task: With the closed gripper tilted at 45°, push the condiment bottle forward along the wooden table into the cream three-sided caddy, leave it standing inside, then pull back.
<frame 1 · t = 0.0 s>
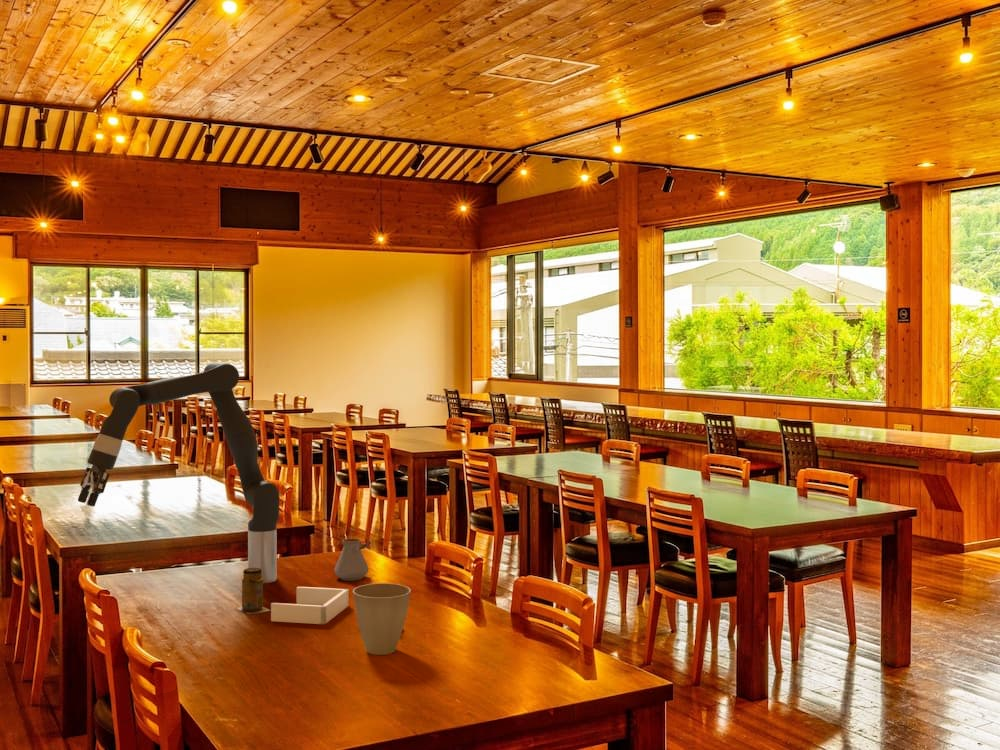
hand: (85, 504, 296), 31 cm above the table, tool tilted 20°, fingers open, 8 cm apart
plant pot: (381, 651, 260), on the table
coffee pot: (357, 581, 334), on the table
cup and saucer: (380, 631, 279), on the table
caddy: (310, 613, 295), on the table
condiment: (253, 610, 298), on the table
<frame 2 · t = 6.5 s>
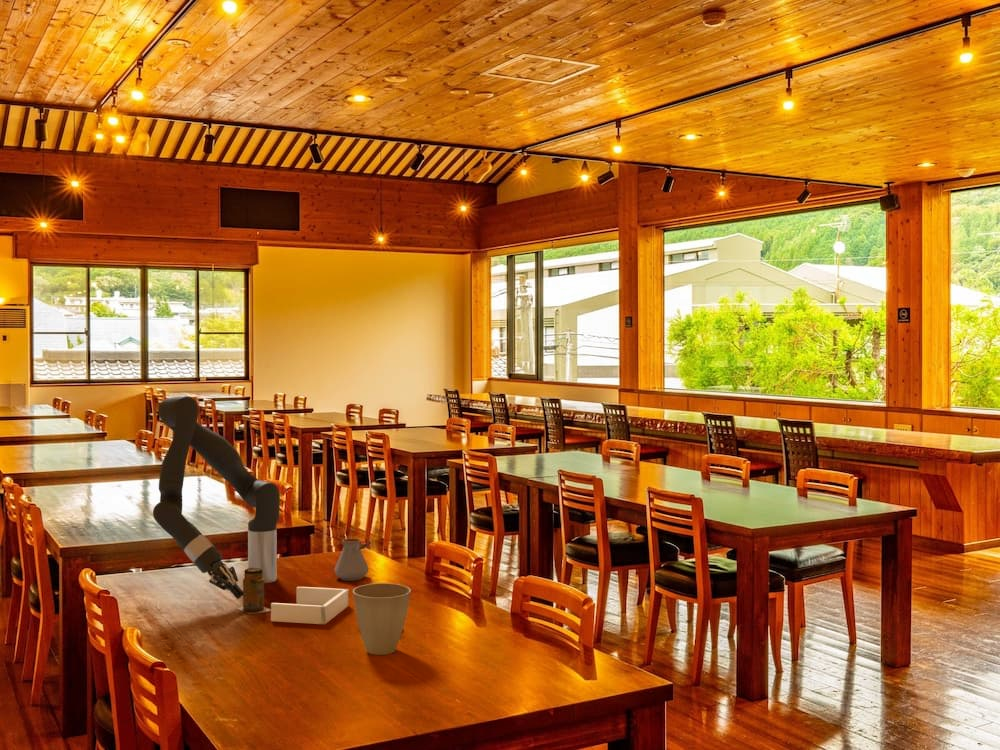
hand: (241, 596, 299), 4 cm above the table, tool tilted 45°, fingers closed
condiment: (254, 610, 298), on the table, touching gripper
everything else where it was.
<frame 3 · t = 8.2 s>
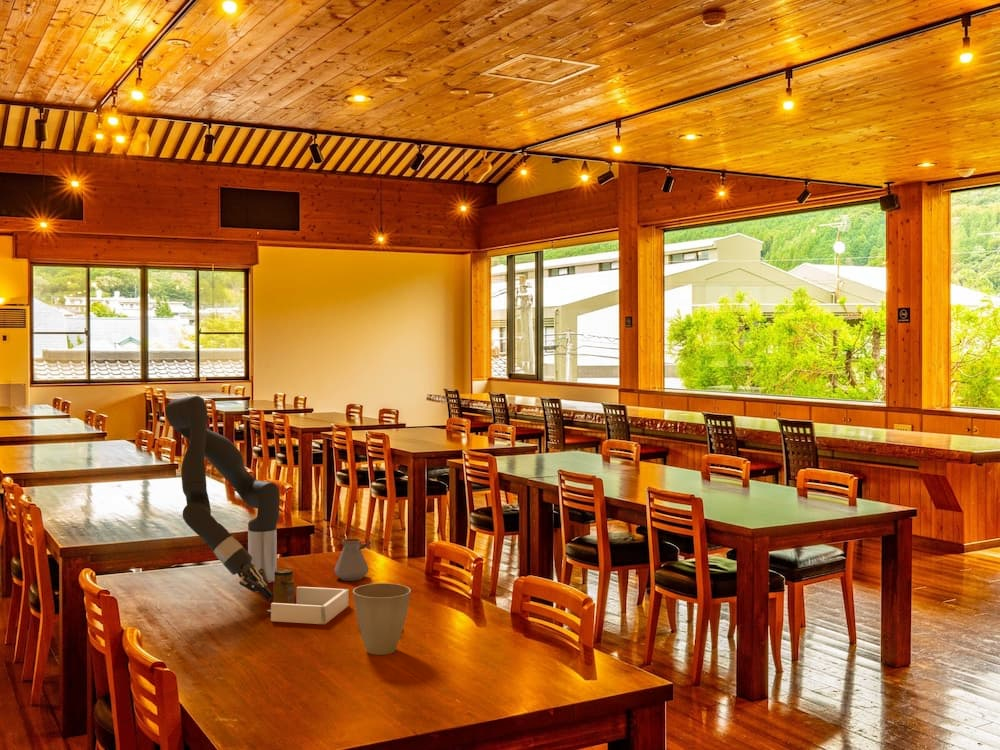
hand: (271, 598, 297), 4 cm above the table, tool tilted 45°, fingers closed
condiment: (284, 612, 296), on the table, touching gripper
everything else where it was.
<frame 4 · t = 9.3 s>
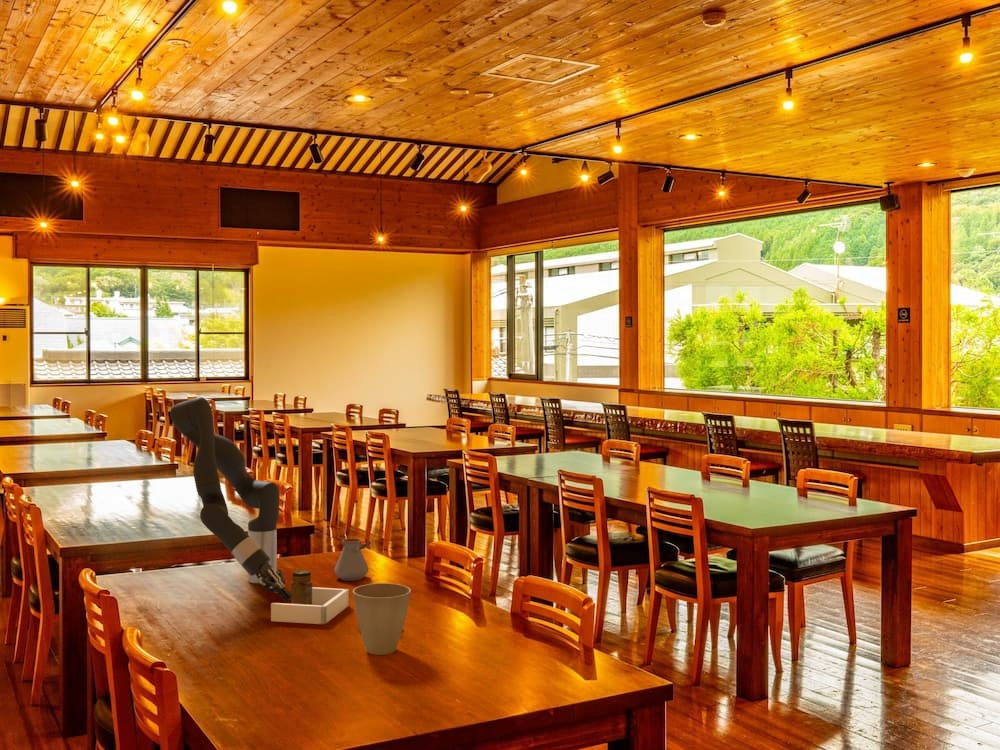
hand: (289, 599, 296), 4 cm above the table, tool tilted 45°, fingers closed
condiment: (302, 613, 295), on the table, touching gripper
everything else where it was.
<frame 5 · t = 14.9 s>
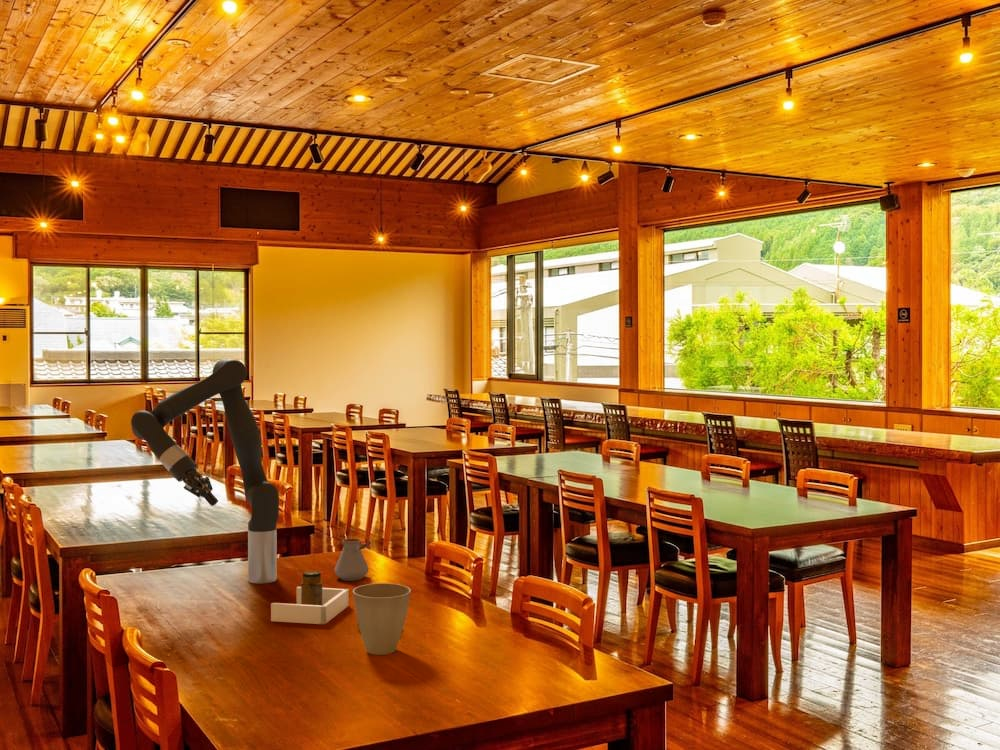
hand: (215, 503, 308), 30 cm above the table, tool tilted 45°, fingers closed
condiment: (312, 614, 295), on the table
everything else where it was.
at the end: condiment inside the target area on the caddy (0.3 cm from its centre), point 0.0 cm above the caddy's base; condiment tilted 0°; condiment moved 18.7 cm from its start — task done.
